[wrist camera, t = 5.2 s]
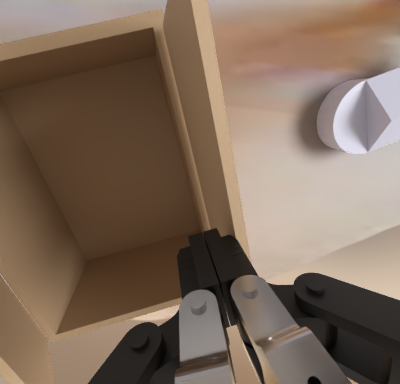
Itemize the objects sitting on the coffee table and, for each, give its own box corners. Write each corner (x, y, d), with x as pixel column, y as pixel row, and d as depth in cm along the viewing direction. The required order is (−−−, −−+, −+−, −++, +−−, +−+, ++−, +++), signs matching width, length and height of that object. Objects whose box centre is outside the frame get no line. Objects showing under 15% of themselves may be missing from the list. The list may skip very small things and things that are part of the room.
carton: (-10, 85, 25) (-146, 75, 14) (160, 46, 26) (161, 9, 15) (85, 263, 34) (50, 342, 23) (205, 229, 35) (227, 289, 24)
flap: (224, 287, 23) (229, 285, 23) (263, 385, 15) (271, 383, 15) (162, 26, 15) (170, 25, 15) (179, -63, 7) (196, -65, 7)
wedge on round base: (405, 59, 31) (312, 93, 30) (467, 49, 24) (351, 92, 24) (403, 126, 34) (320, 157, 34) (456, 133, 28) (356, 171, 28)
